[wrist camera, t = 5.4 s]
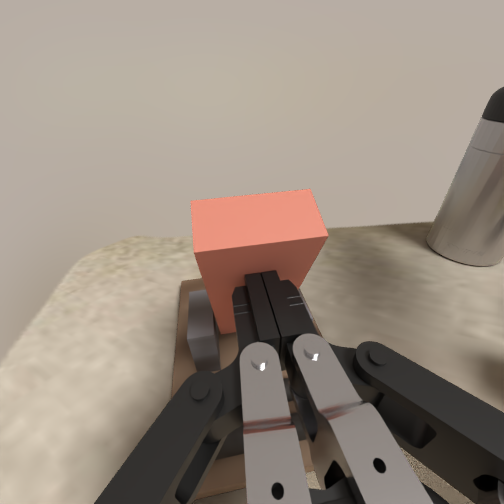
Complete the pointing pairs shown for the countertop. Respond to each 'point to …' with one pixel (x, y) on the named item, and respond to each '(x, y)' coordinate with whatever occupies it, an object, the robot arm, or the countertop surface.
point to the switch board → (213, 360)
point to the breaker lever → (254, 242)
